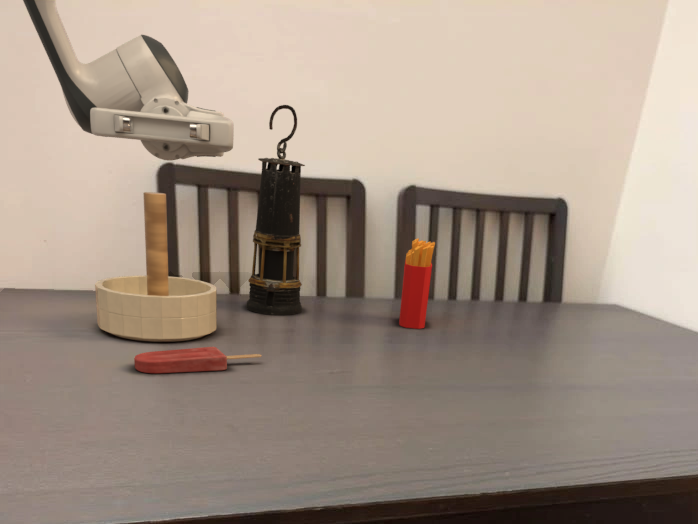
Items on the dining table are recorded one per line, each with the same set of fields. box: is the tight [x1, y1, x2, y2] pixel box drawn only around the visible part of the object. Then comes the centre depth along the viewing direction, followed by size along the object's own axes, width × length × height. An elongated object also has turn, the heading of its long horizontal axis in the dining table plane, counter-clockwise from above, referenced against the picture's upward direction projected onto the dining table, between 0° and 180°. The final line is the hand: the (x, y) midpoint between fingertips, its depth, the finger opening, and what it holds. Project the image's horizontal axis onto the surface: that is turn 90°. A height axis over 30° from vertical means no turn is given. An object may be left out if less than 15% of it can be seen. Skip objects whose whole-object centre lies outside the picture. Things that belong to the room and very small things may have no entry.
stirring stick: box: [142, 191, 169, 296], centre depth 97 cm, size 4×4×17 cm
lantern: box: [245, 104, 306, 316], centre depth 113 cm, size 9×9×30 cm
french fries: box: [398, 237, 436, 330], centre depth 115 cm, size 9×4×13 cm, turn 177°
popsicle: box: [133, 346, 262, 374], centre depth 85 cm, size 4×2×15 cm
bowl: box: [94, 274, 218, 343], centre depth 99 cm, size 16×16×6 cm
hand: (160, 127), depth 101 cm, fingers open, 8 cm apart
